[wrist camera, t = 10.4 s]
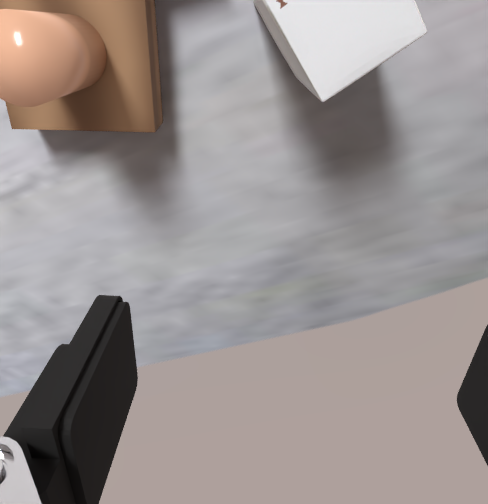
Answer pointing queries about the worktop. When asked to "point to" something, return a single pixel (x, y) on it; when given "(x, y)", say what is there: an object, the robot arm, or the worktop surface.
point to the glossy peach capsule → (47, 56)
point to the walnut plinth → (114, 77)
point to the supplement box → (339, 37)
